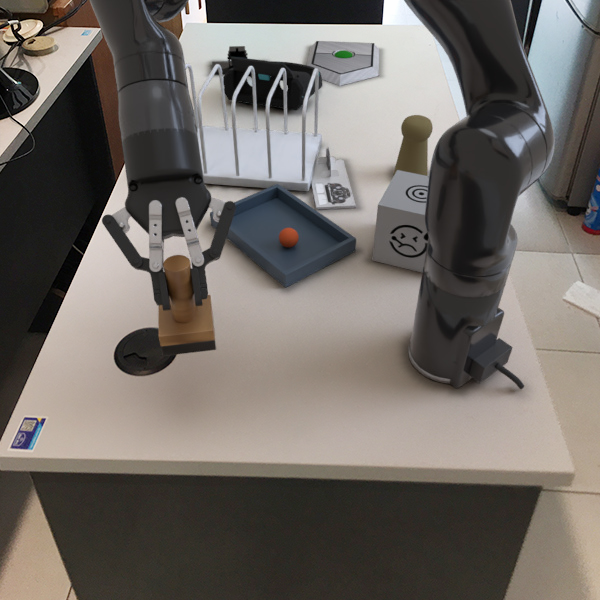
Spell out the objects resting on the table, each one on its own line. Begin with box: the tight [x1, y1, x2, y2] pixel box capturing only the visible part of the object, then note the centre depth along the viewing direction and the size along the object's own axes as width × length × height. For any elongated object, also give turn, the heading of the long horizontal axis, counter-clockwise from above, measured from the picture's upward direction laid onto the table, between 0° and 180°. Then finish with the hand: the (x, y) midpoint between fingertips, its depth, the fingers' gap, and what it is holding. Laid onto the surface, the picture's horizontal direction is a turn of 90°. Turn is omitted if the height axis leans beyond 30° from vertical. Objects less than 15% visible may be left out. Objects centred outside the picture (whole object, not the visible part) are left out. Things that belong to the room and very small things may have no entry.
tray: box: [209, 184, 357, 288], centre depth 98 cm, size 20×14×2 cm
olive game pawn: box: [393, 114, 433, 177], centre depth 108 cm, size 6×6×11 cm
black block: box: [210, 45, 265, 76], centre depth 146 cm, size 12×7×5 cm, turn 93°
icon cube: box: [371, 170, 429, 274], centre depth 93 cm, size 10×10×10 cm
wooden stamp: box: [157, 254, 217, 357], centre depth 65 cm, size 6×6×10 cm
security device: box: [305, 40, 380, 87], centre depth 147 cm, size 17×22×2 cm
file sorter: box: [185, 62, 323, 192], centre depth 110 cm, size 25×17×16 cm
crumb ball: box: [279, 228, 299, 248], centre depth 96 cm, size 3×3×3 cm
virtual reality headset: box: [223, 56, 323, 111], centre depth 134 cm, size 19×22×10 cm
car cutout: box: [310, 147, 357, 211], centre depth 109 cm, size 15×7×4 cm, turn 5°
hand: (183, 307), depth 63 cm, fingers closed on wooden stamp, 2 cm apart
